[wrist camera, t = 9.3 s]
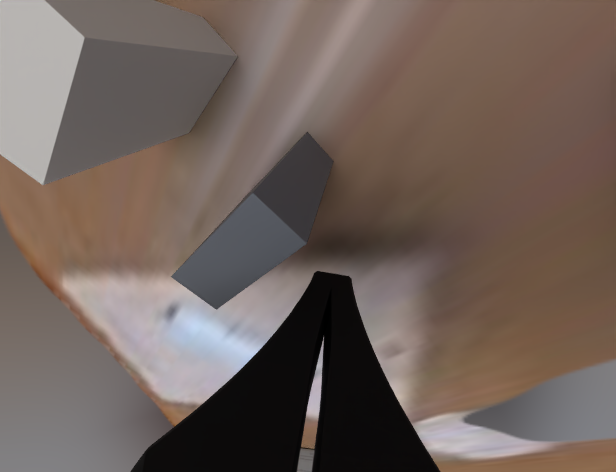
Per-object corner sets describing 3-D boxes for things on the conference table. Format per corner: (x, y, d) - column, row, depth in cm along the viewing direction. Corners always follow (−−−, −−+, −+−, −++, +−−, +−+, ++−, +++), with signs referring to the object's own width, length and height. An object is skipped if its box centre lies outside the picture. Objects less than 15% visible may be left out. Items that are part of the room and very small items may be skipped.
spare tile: (333, 161, 12) (306, 243, 6) (275, 213, 14) (216, 309, 8) (307, 132, 12) (252, 192, 6) (251, 190, 14) (171, 276, 8)
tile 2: (237, 56, 10) (84, 37, 5) (188, 133, 13) (42, 184, 7) (202, 16, 10) (-18, -59, 4) (157, 104, 12) (-29, 133, 6)
